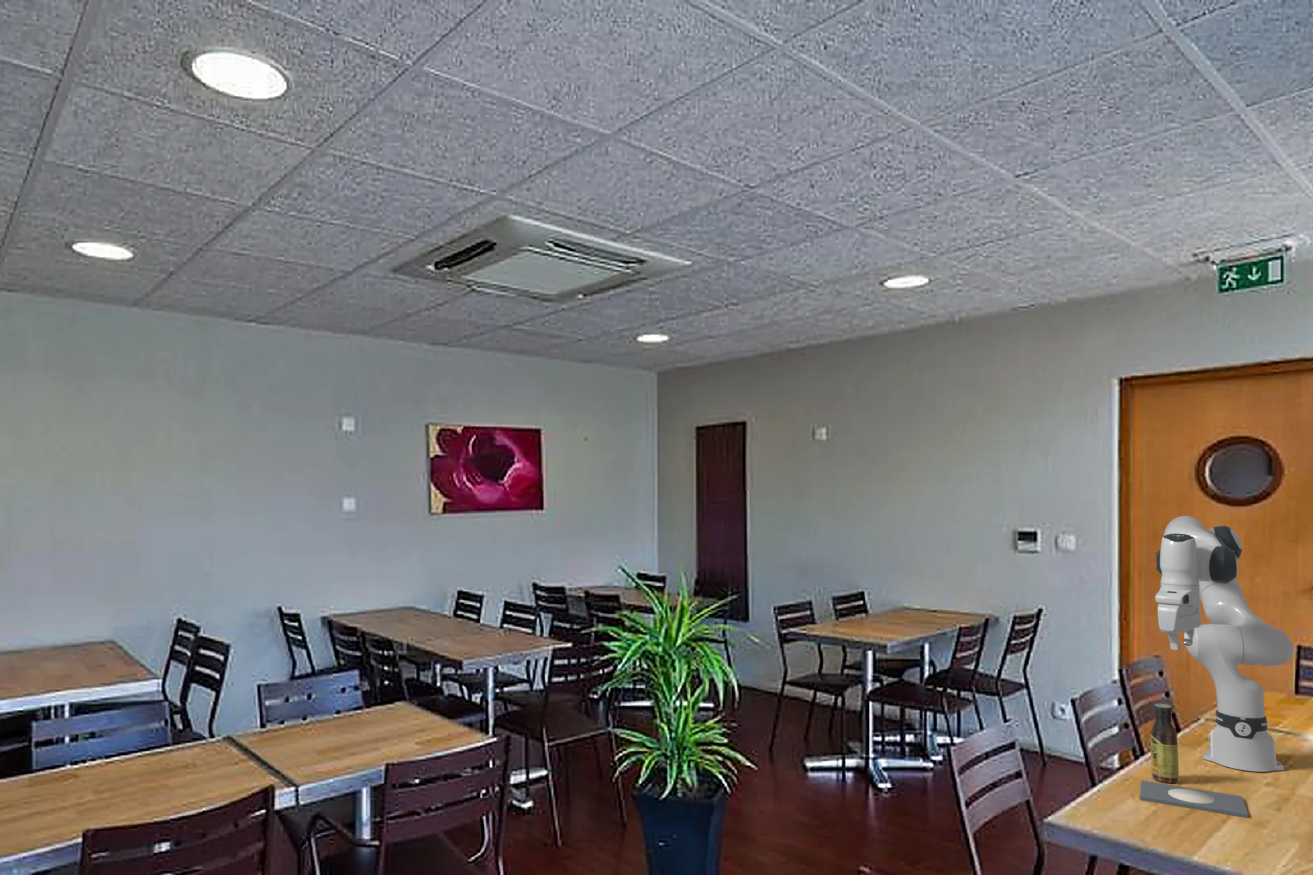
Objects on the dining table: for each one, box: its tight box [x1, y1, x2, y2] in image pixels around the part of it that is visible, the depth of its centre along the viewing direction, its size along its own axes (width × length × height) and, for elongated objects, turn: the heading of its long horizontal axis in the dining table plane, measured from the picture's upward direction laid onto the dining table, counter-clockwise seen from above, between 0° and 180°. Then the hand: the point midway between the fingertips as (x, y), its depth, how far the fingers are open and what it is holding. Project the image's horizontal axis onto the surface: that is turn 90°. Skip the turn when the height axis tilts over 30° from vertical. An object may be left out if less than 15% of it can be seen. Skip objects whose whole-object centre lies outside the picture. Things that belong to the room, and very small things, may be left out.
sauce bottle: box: [1149, 703, 1179, 785], centre depth 222 cm, size 6×6×20 cm
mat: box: [1139, 779, 1249, 819], centre depth 207 cm, size 14×22×1 cm, turn 59°
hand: (1181, 647), depth 220 cm, fingers open, 8 cm apart
